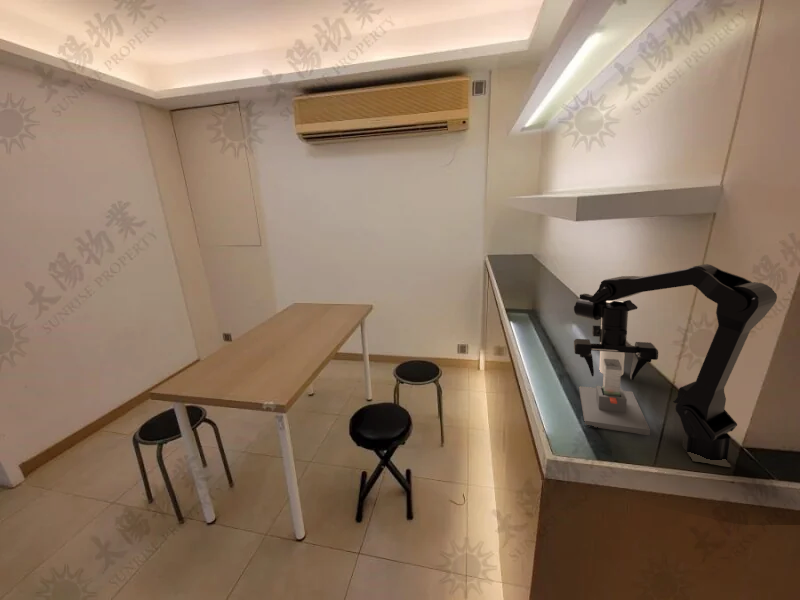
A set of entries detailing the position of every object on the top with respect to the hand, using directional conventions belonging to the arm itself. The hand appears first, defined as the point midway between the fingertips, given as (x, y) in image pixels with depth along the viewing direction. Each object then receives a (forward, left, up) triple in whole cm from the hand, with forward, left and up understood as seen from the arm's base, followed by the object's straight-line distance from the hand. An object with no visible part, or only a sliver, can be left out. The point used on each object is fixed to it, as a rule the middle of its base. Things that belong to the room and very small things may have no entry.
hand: (611, 377), depth 90 cm
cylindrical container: (-4, -27, -10) cm, 29 cm away
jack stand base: (0, 0, -10) cm, 10 cm away
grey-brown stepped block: (0, 0, -5) cm, 5 cm away
